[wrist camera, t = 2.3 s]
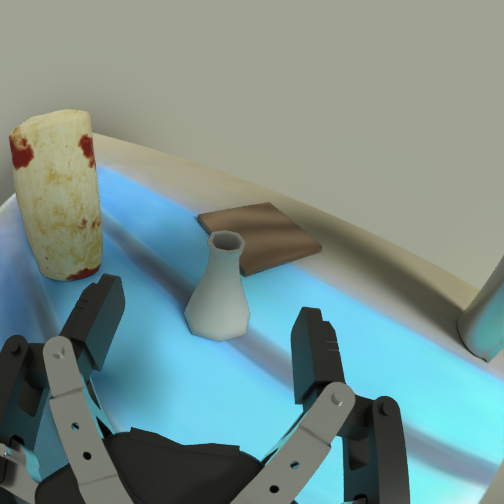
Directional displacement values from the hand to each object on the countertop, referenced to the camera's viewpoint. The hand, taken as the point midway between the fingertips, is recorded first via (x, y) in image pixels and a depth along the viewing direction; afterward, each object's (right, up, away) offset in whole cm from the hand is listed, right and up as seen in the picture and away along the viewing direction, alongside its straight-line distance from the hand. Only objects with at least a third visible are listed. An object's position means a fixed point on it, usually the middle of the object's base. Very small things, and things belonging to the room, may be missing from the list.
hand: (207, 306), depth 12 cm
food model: (-20, 0, +18) cm, 28 cm away
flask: (-2, -5, +18) cm, 19 cm away
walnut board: (+3, +5, +31) cm, 32 cm away
